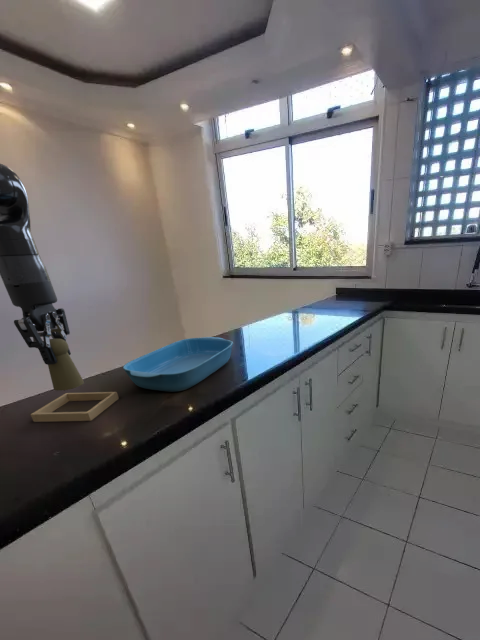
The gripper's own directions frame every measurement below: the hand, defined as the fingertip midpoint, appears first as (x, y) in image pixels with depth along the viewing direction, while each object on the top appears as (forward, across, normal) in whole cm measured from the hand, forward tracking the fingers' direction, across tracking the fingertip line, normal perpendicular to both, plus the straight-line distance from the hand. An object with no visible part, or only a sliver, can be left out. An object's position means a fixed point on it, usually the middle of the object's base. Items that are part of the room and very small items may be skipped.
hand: (58, 359), depth 70 cm
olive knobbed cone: (+7, 0, 0) cm, 7 cm away
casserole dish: (+14, -21, +22) cm, 34 cm away
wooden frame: (+14, 0, 0) cm, 14 cm away
